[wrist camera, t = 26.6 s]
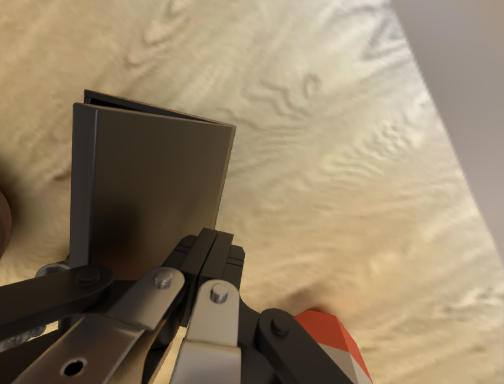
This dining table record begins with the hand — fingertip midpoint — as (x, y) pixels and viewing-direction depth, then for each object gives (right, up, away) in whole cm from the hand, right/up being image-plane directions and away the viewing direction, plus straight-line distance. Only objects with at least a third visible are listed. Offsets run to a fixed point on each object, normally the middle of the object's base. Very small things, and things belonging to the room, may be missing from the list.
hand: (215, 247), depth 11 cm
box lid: (-3, +1, +1) cm, 3 cm away
